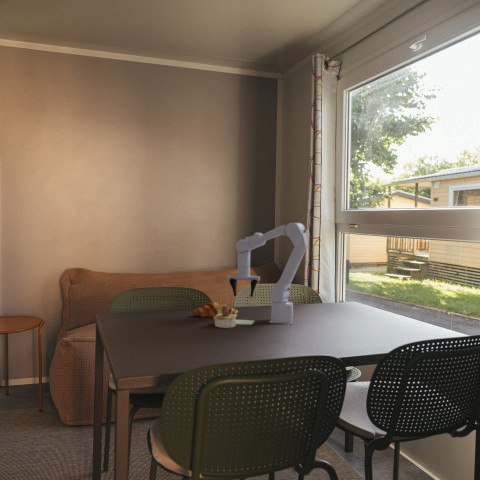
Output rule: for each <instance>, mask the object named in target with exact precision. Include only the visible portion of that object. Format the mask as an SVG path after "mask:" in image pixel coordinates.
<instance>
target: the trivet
mask: <svg viewBox="0 0 480 480" xmlns="http://www.w3.org/2000/svg"><path fill="white" fill-rule="evenodd" d="M254 323H255V320H254V319H253V320H252V319H251V320H250V319H236V324H235V325H253V324H254Z"/></svg>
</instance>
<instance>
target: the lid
mask: <svg viewBox="0 0 480 480" xmlns="http://www.w3.org/2000/svg"><path fill="white" fill-rule="evenodd" d="M229 307H230V306H229V305H226V306H222V314H220V313H219V314H217V315H216V316H214V317H212V318H213V320H215V319H219V320H233V319H235V318H237V317H238V313H237V314H229Z"/></svg>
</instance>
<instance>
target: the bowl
mask: <svg viewBox="0 0 480 480" xmlns="http://www.w3.org/2000/svg"><path fill="white" fill-rule="evenodd" d="M236 318H237V317H236ZM236 318H235V319H233V320H219V319H214V326H215V327H218V328H220V329H221V328H223V329H224V328H225V329H227V328H234V327H236V325H237V324H236V320H237V319H236Z"/></svg>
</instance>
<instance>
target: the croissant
mask: <svg viewBox="0 0 480 480" xmlns="http://www.w3.org/2000/svg"><path fill="white" fill-rule="evenodd" d="M222 306H227V305H226V304H225V303H224V304H219V303H218V302H215V301H214V302H213V301H210V302H208V303H207V304H206V305H202V307H200V308H199V307H198V308H196V309H194V310H192V314H193V315H195V316H197V317H201V318H205V317H206V318H213V317H214V316H216V315H217V314H219V313H220V314H222ZM238 313H239V310H238V309H236V308H234V307H230V306H229V314H237V315H238Z"/></svg>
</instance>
